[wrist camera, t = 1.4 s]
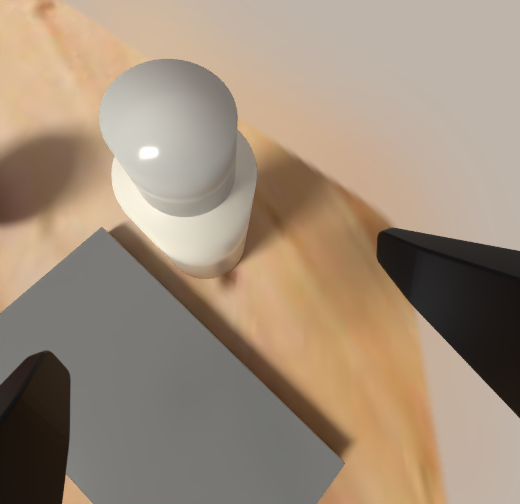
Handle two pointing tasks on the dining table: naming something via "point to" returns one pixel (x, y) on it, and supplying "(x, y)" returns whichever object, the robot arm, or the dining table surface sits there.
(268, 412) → the slate board
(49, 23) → the dining table surface
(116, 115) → the white bottle
